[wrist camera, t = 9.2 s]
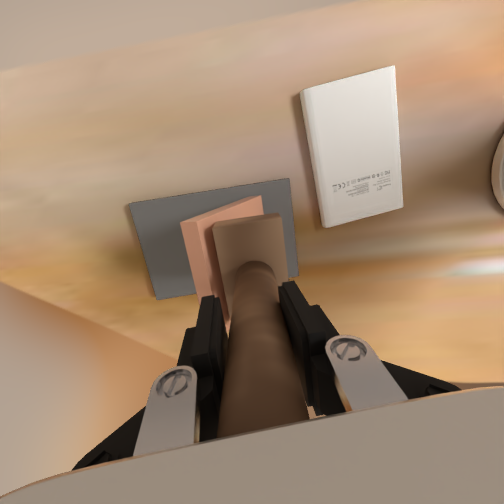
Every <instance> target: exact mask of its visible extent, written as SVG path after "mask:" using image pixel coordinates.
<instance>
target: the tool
mask: <svg viewBox="0 0 504 504" xmlns="http://www.w3.org/2000/svg"><path fill="white" fill-rule="evenodd" d="M212 230H213V235H214V240H215V245H216V250H217V255H218V260H219V265H220V270H221V275H222V280H223V285H224V290H225V295H226V300H227V305H228V310H229V315H230V320H231V322H230V330H229V338H228V347H227V355H226V363H225V372H224V380H223V388H222V397H221V405H220V413H219V422H218V430H217V438H222V437H227V436H231V435H236V434H241V433H246V432H251V431H256V430H260V429H265V428H270V427H275V426H280V425H285V424H290V423H295V422H299V421H304V420H309V414H308V410H307V406H306V402H305V398H304V393H303V389H302V385H301V381H300V377H299V373H298V369H297V365H296V361H295V356H294V352H293V348H292V344H291V340H290V336H289V332H288V328H287V324H286V321H285V318H284V315H283V311H282V308H281V306H280V301H279V294H278V286H282V282H288V281H289V279H288V270H287V261H286V252H285V243H284V234H283V225H282V218H281V216H280V215H279V213H278V212H277V213H270V214H264V215H257V216H250V217H244V218H237V219H230V220H223V221H217V222H216V223H215V225H214V226H213V228H212ZM217 438H216V439H217Z"/></svg>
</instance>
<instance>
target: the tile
mask: <svg viewBox="0 0 504 504" xmlns="http://www.w3.org/2000/svg"><path fill="white" fill-rule="evenodd" d="M257 215H264V213H263V205H262V198H261V195H258V196H249V197H246V198H244V199H241V200H238V201H236V202H233V203H230V204H228V205H225V206H222V207H220V208H217V209H214V210H212V211H209V212H207V213H204V214H201V215H199V216H196V217H193V218H191V219H188V220H185V221H183V222H180V225H181V229H182V233H183V238H184V242H185V246H186V250H187V254H188V259H189V263H190V267H191V271H192V276H193V280H194V284H195V288H196V292H197V297H198V301H199V305H200V304H201V298H202V297H204V296H209V295H214V296H215V298H216V297H219V298H220V302H221V307H222V312H223V316H224V321H225V326H226V331H227V332H228V330H229V329H230V322H231V320H230V315H229V310H228V305H227V300H226V295H225V290H224V285H223V280H222V275H221V270H220V265H219V260H218V255H217V250H216V245H215V240H214V235H213V230H212V228H213V226H214V225H215V223H216V222H217V221H223V220H230V219H237V218H244V217H250V216H257Z"/></svg>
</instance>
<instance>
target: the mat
mask: <svg viewBox="0 0 504 504" xmlns="http://www.w3.org/2000/svg"><path fill="white" fill-rule="evenodd" d="M258 195H261V198H262V205H263V213H264V214H270V213H277V212H278V213H279V215H280V216H281V218H282V225H283V234H284V243H285V252H286V261H287V270H288V278H290V277H296V276H299V271H298V261H297V251H296V241H295V231H294V220H293V210H292V200H291V190H290V180H289V178H287V179H280V180H274V181H267V182H261V183H255V184H248V185H242V186H236V187H229V188H223V189H216V190H210V191H204V192H197V193H191V194H185V195H178V196H172V197H166V198H159V199H153V200H146V201H140V202H134V203H130V204H129V207H130V210H131V214H132V217H133V220H134V224H135V227H136V231H137V234H138V237H139V241H140V244H141V248H142V251H143V254H144V258H145V261H146V265H147V268H148V272H149V275H150V278H151V282H152V285H153V289H154V292H155V295H156V299H157V300H162V299H168V298H173V297H179V296H185V295H191V294H197V292H196V288H195V284H194V280H193V276H192V271H191V267H190V263H189V259H188V254H187V250H186V246H185V242H184V238H183V233H182V229H181V225H180V222H183V221H185V220H188V219H191V218H193V217H196V216H199V215H201V214H204V213H207V212H209V211H212V210H214V209H217V208H220V207H222V206H225V205H228V204H230V203H233V202H236V201H238V200H241V199H244V198H246V197H249V196H258Z"/></svg>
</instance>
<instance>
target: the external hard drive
mask: <svg viewBox="0 0 504 504" xmlns="http://www.w3.org/2000/svg"><path fill="white" fill-rule="evenodd" d="M300 100H301V106H302V112H303V118H304V123H305V129H306V135H307V141H308V146H309V152H310V158H311V164H312V170H313V176H314V181H315V187H316V193H317V199H318V204H319V210H320V217H321V223H322V226H323V227H325V228H329V227H333V226H337V225H340V224H344V223H347V222H351V221H355V220H359V219H362V218H366V217H370V216H374V215H377V214H381V213H385V212H388V211H392V210H396V209H400V208H402V207H403V192H402V174H401V158H400V143H399V125H398V108H397V94H396V79H395V66H394V65H393V66H389V67H385V68H381V69H377V70H374V71H370V72H366V73H362V74H359V75H355V76H351V77H347V78H344V79H340V80H336V81H332V82H328V83H325V84H321V85H317V86H313V87H310V88H307V89H303V90H302V91H301V92H300Z"/></svg>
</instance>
